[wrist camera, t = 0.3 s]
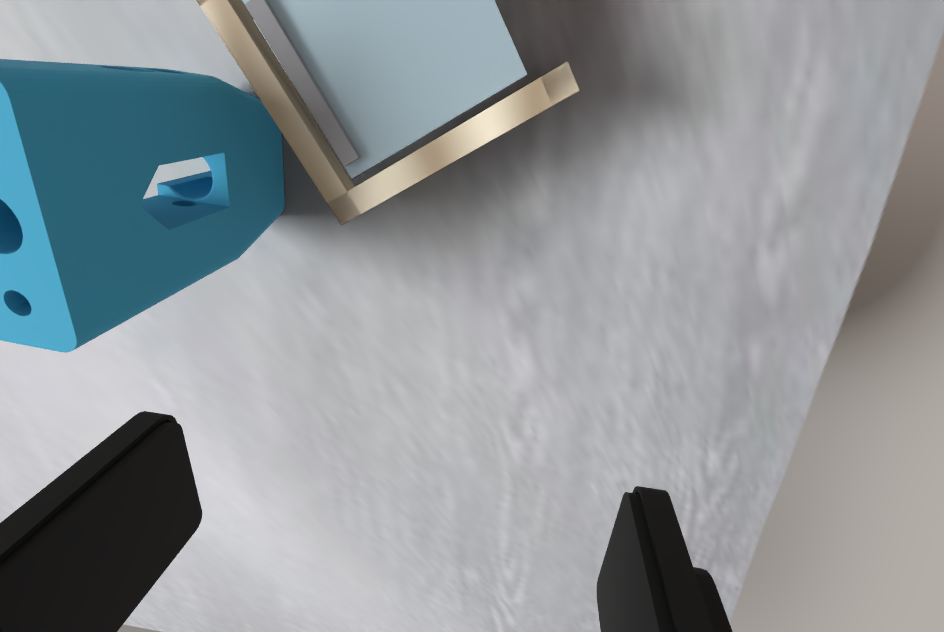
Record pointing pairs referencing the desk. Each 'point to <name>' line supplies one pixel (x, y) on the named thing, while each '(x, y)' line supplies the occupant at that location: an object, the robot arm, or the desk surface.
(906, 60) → the desk surface
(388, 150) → the trapdoor plate
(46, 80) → the block
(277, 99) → the frame
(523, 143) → the desk surface
